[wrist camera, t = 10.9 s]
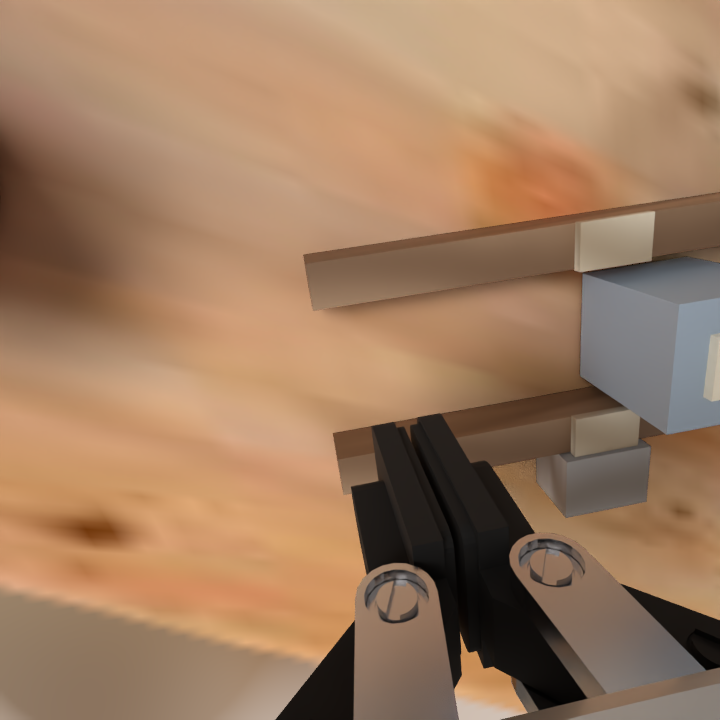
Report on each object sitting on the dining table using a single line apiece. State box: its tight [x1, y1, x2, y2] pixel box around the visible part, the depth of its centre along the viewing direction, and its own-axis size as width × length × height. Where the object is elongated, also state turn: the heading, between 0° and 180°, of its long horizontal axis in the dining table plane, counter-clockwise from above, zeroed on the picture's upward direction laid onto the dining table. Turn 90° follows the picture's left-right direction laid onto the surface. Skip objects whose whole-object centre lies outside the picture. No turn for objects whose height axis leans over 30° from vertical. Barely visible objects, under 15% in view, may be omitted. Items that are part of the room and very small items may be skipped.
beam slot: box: [303, 192, 720, 518], centre depth 23 cm, size 13×26×3 cm, turn 97°
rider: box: [580, 257, 720, 435], centre depth 21 cm, size 5×5×6 cm
